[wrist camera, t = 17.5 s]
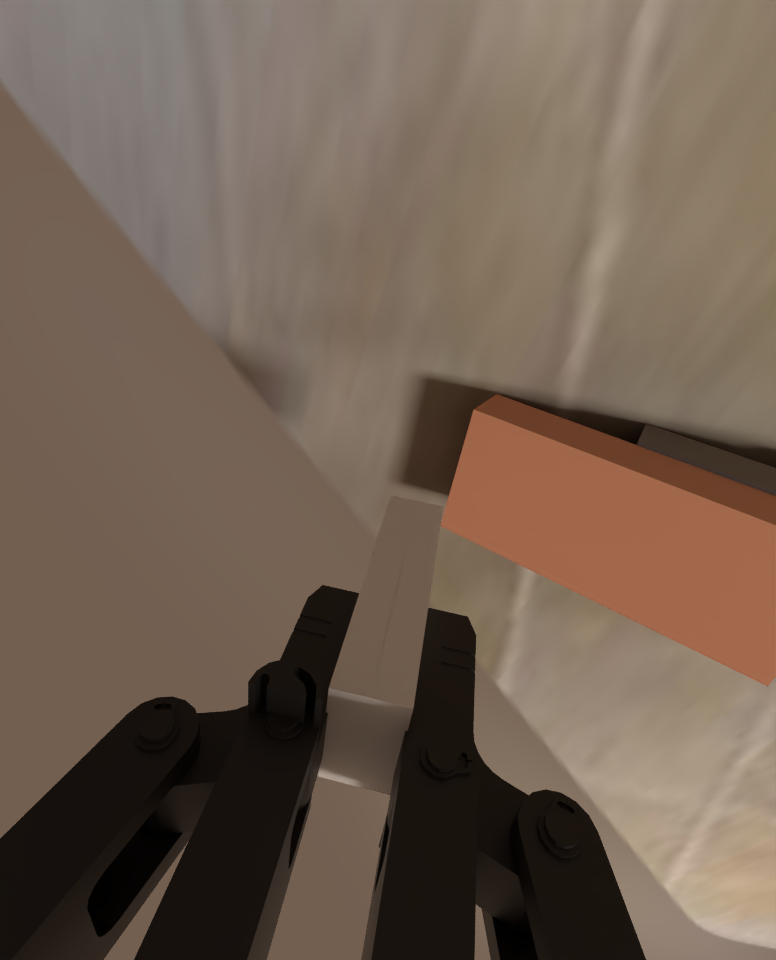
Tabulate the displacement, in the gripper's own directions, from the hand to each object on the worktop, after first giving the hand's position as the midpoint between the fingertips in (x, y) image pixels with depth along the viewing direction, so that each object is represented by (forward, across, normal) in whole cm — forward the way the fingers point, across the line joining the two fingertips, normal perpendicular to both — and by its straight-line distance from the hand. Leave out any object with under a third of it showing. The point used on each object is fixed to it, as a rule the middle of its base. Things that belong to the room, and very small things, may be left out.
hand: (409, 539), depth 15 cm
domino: (+6, +2, 0) cm, 7 cm away
